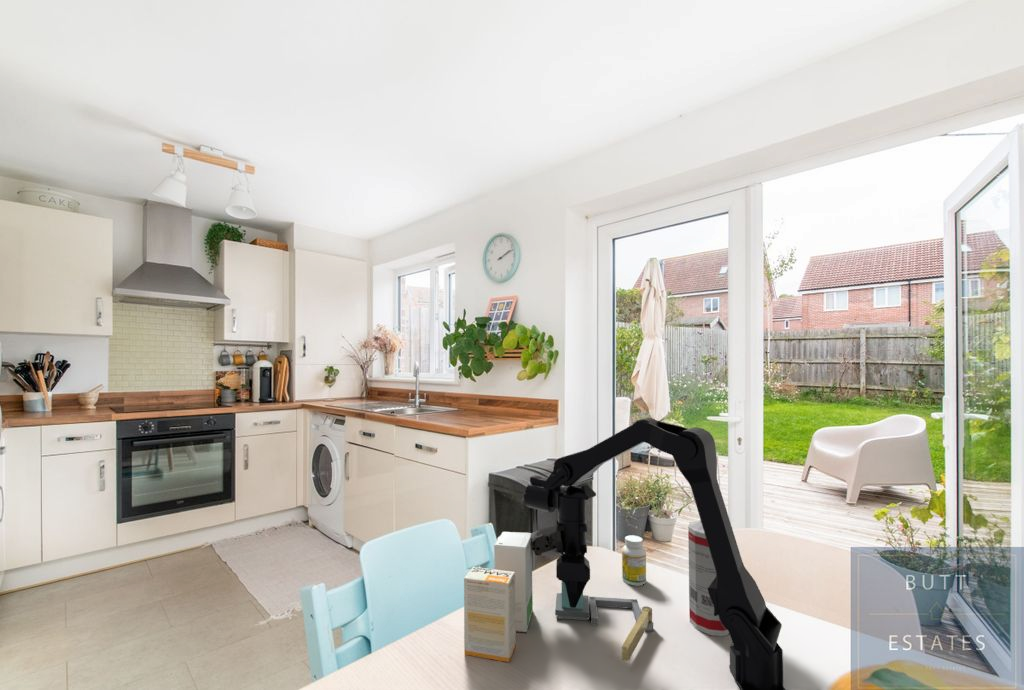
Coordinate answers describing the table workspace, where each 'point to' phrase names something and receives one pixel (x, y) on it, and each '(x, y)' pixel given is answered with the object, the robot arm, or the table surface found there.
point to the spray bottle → (701, 583)
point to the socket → (615, 603)
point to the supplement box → (489, 613)
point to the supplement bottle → (634, 561)
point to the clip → (636, 633)
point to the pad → (572, 617)
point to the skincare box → (517, 572)
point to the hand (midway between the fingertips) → (572, 595)
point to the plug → (564, 606)
